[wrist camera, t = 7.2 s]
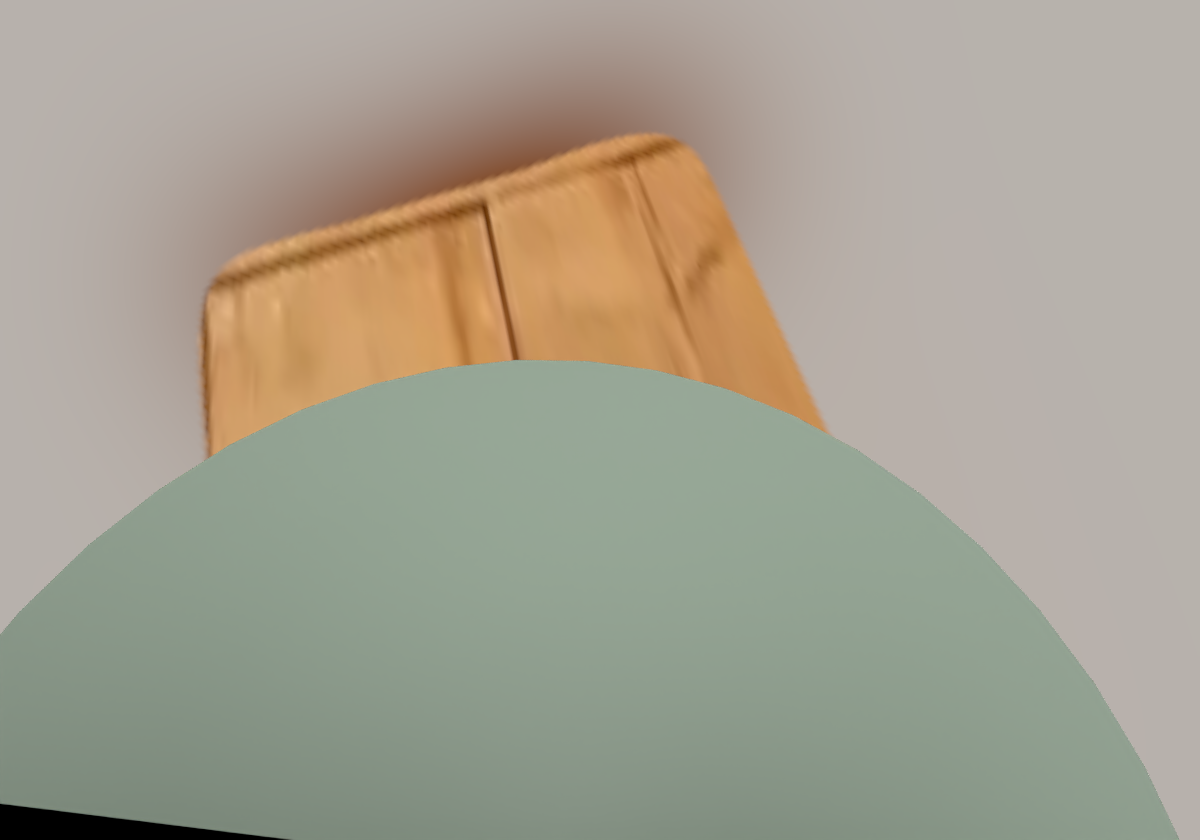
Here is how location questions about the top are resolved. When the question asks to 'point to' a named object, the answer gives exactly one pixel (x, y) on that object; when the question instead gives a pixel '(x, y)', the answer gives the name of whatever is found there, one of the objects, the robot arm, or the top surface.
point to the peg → (550, 639)
